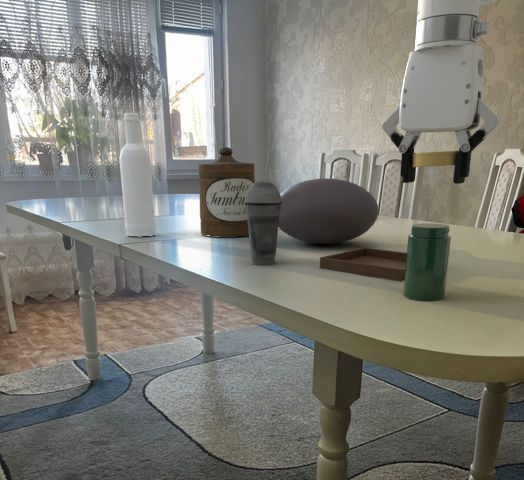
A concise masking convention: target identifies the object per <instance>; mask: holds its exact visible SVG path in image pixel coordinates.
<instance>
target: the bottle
mask: <svg viewBox="0 0 524 480" xmlns="http://www.w3.org/2000/svg"><path fill="white" fill-rule="evenodd" d="M140 119H141V118H140V114H139V113H135V112H126V113H124V114H123V122H124V130H125V142H126V144H125V145H124V146H123V147H122V148H121V149H120V154H119V171H120V180H121V181H120V182H121V192H122V202H123V203H122V204H123V212H124V213H123V214H124V215H123V216H124V230H125V235H129V236H149V235H154V234H156V235H157V232H156V230H157V227H156V226H157V225H156V218H155V204H154V203H155V201H154V190H153V177H152V176H153V174H152V161H151V156H150V154H149V151H148V149H147V148H146V147H145V146H144V145H143V144H142V139H141V126H140V122H141V120H140Z"/></svg>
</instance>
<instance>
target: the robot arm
mask: <svg viewBox="0 0 524 480" xmlns="http://www.w3.org/2000/svg"><path fill="white" fill-rule="evenodd" d="M497 1H499V0H417V2H418V3H417V11H416V12H417V14H416V29H415V40H414V41H415V42H414V50H412V51H410V52H409V56H408V59H407V63H406V68H405V72H404V76H403V82H402V88H401V95H400V104H399V106H398V107H397V108H396V109H395V110H394V112H392V113H391V115H390V116H389V117H388V118H386V119H385V121H384V122H383V123H382V125H381V129H382V130H383V132H385V134H386V135H387V136H388V137H389V138H390V140H391V142H392V143H393V145H394V146H395V147H396V148H397V149H398V152H399V153H400V154H401V161H400V177H401V178H402V183H403V184H408V183H409V184H410V183H414V182H415V181H416V173H417V167H412V163H413V154H415V153H416V152H415V147H416V146H417V144H418V141H419V139H420V137H421V135H422V133H446V132H447V133H448V132H450V133H451V132H454V134H455V137H456V139H457V143H458V146H459V149H458V151H459V152H457V153H456V157H455V165H454V168H453V179H452V182H453V183H454V184H455V185H459V184H464V183H465V181H466V178H468V177H469V176H470V169H471V158H472V152H474V150H476V148H477V147H478V146H479V145H480V144H482V143H483V141H485V139H486V138H487V137H488V136H489V135H490V134H491V133H492V132H494V130H495V129H496V128H497V127H498V126H499V125H501V118H500V117H499V116H498V115H497V114H496V113H495V112H494V111H493V110H492V109H491V108H490V107H489V106H488V105H487V104H486V103H485V102H484V101H483V99H484V53H483V52H484V51H483V47H482V46H480V45H476V44H477V43H478V40H479V38H480V37H482V36H484V35H488V34H489V32H490V22H489V21H486V22H483V21H481V19H479V15H480V7H481V6H483V5H484V6H485V5H486V6H487V5H491V4H493V3H496V2H497ZM481 120H483V124H482V126H481V127H480V128H479V129H478V130H476V131H475V132H474V133H473V134H472V132H471V131H472V130H475V129H476V128H478V127H479V126H480V124H481ZM398 124H399V128H400V130H402V131H404V132H405V134H404V135H403V134H402V133H401V132H400V130H399V129H398V128H397V125H398Z"/></svg>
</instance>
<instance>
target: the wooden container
mask: <svg viewBox="0 0 524 480" xmlns="http://www.w3.org/2000/svg"><path fill="white" fill-rule="evenodd" d="M218 153H219V155H220V156H219V157H218V159H217V160H215V161H212V162H203V163H198V165H197V167H198V168H197V169H198V182H199V183H198V184H199V185H198V186H199V219H200V234H201V235H202V234H203V235H210V236H219V237H235V238H237V237H236V236H245V237H248V236H247V235H249V231H248V221H247V214H246V210H245V204H244V202H245V195H246V192H247V190H248V189H249V187H250V186H251V185H252V184H254V183H256V178H255V177H256V176H255V162H245V161H244V162H243V161H238V160H236V159H235V158H234V157H233V153H234V152H233V148H230V147H227V146H223V147H222V148H220V149H219V151H218ZM203 235H202V236H203Z"/></svg>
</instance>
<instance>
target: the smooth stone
mask: <svg viewBox="0 0 524 480" xmlns="http://www.w3.org/2000/svg"><path fill="white" fill-rule="evenodd" d="M280 196H281V202H282V204H281V210H280V214H279V222H278V229H280V230H281V232H283V233H284V234H286V235H287V236H288V237H291V238H293V239H295V240H297V241H301V242H304V243H308V244H314V245H315V244H316V245H333V244H340V243H345V242H348V241H352V240H355V239H356V238H359V237H361V236H362V235H364V234H365V233H367V232H368V231H369V230H370V229H371V228H372V227H373V226H374V225H375V223H376V222H377V220H378V217H379V204H378V202H377V200H376V199H375V197H374V196H373V194H372V193H371V192H370V191H368V190H367V189H366V188H364V187H362V186H361V185H359V184H357V183H354V182H351V181H349V180H345V179H338V178H313V179H308V180H304V181H301V182H298V183H295V184H293V185H291V186H289V187H287V188H286V189H284V191H282V192H280Z"/></svg>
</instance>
